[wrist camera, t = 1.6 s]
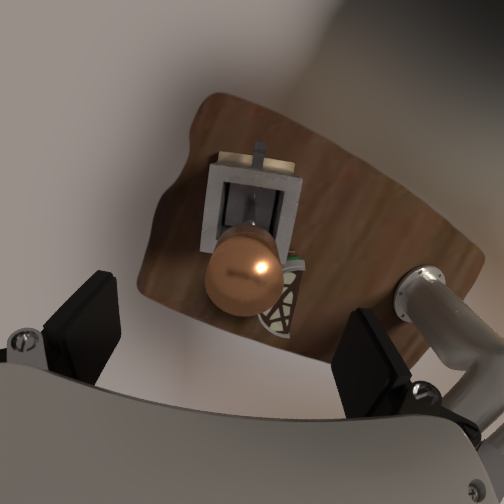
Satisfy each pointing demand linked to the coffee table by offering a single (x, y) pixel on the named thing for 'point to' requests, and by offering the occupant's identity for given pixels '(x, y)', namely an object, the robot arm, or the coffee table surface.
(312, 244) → the coffee table surface
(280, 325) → the food container
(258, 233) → the plunger
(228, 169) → the press sleeve
